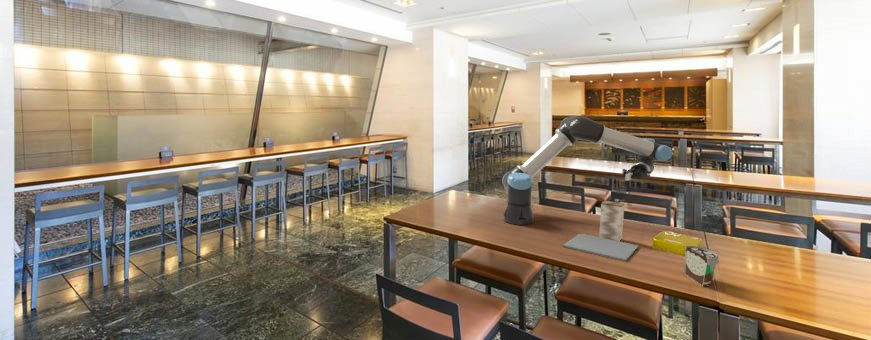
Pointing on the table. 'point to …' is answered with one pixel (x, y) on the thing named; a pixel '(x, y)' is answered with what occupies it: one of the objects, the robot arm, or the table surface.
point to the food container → (700, 264)
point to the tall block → (611, 220)
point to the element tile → (675, 242)
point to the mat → (602, 246)
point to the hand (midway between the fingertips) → (627, 177)
